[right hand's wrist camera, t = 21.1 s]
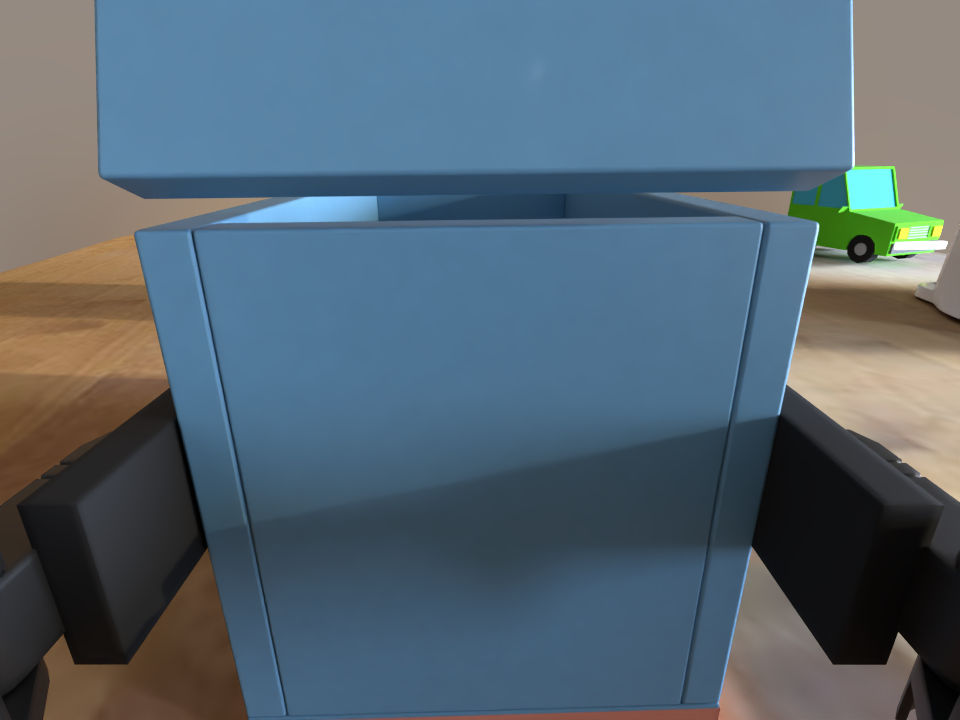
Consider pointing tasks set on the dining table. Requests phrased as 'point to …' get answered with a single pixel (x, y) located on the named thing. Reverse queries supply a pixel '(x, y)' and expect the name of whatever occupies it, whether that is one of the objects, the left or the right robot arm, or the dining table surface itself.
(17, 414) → the dining table surface
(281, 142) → the lid
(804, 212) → the toy car
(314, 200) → the chest
